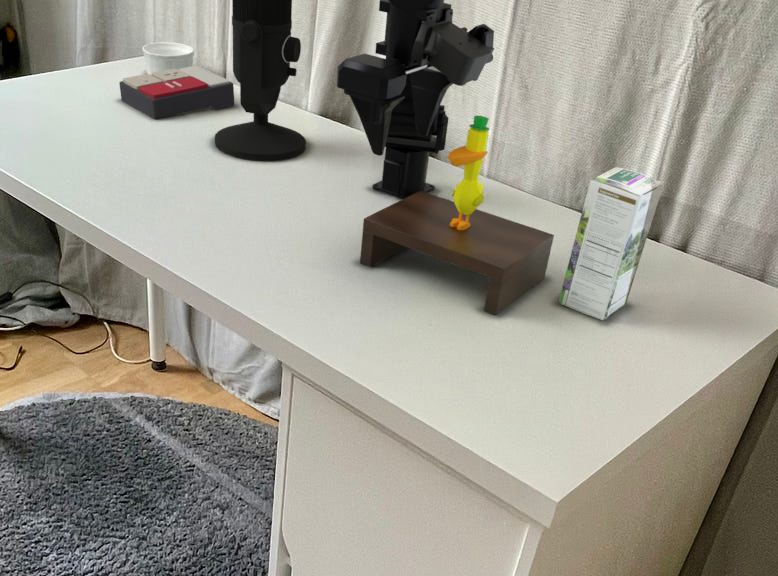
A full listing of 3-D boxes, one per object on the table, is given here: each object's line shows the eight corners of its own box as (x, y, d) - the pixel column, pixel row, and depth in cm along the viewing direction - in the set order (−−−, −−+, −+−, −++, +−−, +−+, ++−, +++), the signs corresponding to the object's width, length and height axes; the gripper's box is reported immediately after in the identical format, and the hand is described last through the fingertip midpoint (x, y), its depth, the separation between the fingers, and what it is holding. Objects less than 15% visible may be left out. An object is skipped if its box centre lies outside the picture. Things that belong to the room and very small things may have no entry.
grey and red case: (117, 76, 142) (197, 61, 150) (120, 104, 145) (199, 87, 153) (152, 95, 136) (234, 78, 144) (155, 123, 139) (235, 105, 146)
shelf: (415, 232, 111) (420, 190, 108) (544, 279, 104) (554, 234, 100) (359, 263, 103) (363, 218, 100) (495, 315, 96) (504, 268, 92)
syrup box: (581, 287, 103) (613, 163, 94) (628, 306, 100) (665, 179, 91) (557, 304, 99) (588, 176, 90) (605, 323, 96) (641, 193, 87)
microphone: (289, 167, 126) (295, -30, 111) (200, 151, 129) (194, -44, 113) (317, 138, 137) (326, -45, 122) (234, 124, 139) (233, -57, 124)
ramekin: (204, 77, 158) (203, 51, 156) (160, 83, 153) (158, 57, 151) (177, 65, 163) (176, 40, 161) (134, 70, 159) (132, 44, 156)
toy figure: (451, 239, 97) (468, 128, 90) (427, 228, 99) (442, 118, 92) (489, 224, 101) (508, 117, 94) (465, 214, 103) (482, 108, 96)
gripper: (437, 19, 81) (417, 186, 90) (528, -5, 93) (502, 143, 103) (338, -3, 85) (329, 157, 95) (438, -24, 98) (421, 120, 107)
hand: (400, 144), depth 100 cm, fingers open, 9 cm apart
